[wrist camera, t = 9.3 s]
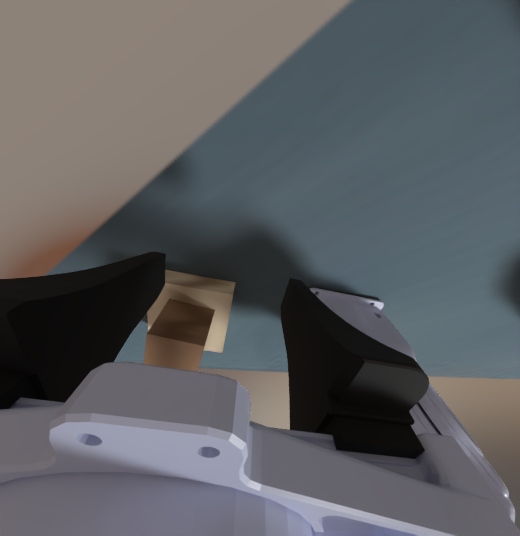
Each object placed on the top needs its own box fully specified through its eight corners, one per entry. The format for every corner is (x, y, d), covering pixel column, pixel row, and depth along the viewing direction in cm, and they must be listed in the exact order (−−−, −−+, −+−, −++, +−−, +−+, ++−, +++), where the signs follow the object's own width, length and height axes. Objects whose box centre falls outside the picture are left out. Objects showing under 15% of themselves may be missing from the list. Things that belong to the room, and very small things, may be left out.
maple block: (235, 280, 25) (233, 294, 22) (225, 334, 29) (222, 352, 26) (158, 266, 24) (145, 279, 21) (159, 324, 28) (148, 341, 25)
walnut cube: (215, 310, 23) (204, 346, 18) (205, 341, 25) (194, 380, 21) (169, 298, 22) (146, 333, 18) (163, 331, 24) (142, 370, 20)
